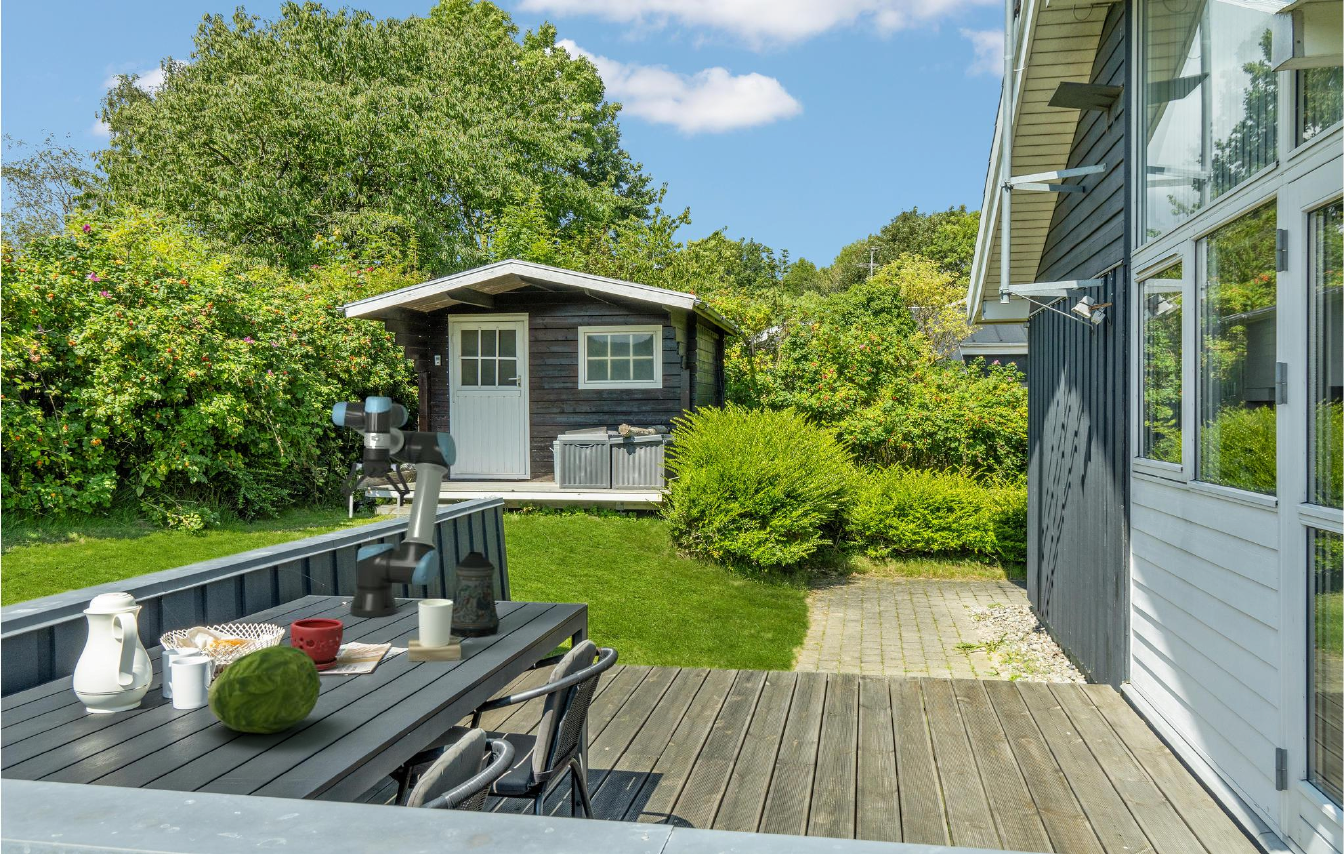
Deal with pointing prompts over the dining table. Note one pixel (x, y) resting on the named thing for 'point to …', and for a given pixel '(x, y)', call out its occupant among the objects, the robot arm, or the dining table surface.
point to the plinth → (434, 651)
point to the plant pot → (318, 640)
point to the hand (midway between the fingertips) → (374, 517)
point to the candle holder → (435, 622)
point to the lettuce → (266, 690)
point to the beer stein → (474, 599)
